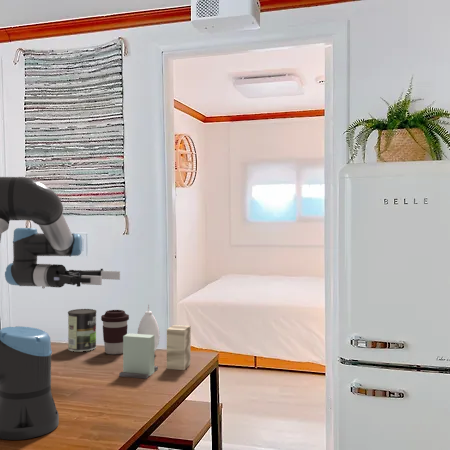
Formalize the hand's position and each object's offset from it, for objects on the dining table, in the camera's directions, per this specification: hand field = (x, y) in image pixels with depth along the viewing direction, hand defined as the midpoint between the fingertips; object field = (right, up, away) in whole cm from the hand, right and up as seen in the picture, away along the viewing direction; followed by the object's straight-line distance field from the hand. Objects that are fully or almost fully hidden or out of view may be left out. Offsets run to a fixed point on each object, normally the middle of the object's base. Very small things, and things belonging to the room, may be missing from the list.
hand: (110, 277), depth 174 cm
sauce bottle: (+9, -30, +21) cm, 38 cm away
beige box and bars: (+14, -30, +2) cm, 33 cm away
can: (-17, -29, +28) cm, 44 cm away
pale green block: (+9, -30, -1) cm, 32 cm away
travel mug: (-3, -30, +24) cm, 38 cm away
